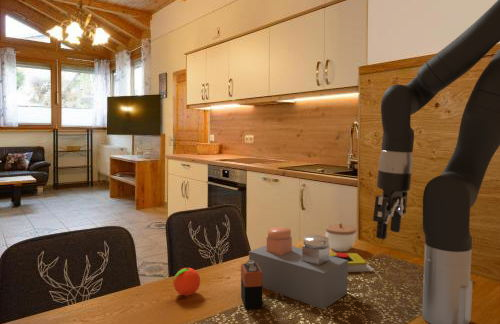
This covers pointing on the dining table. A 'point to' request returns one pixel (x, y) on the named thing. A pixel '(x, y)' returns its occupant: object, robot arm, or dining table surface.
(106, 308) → the dining table surface
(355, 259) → the emergency button
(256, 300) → the battery
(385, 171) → the robot arm
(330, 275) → the console
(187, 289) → the clementine
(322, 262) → the silver jar
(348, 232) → the lidded jar
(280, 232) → the orange canister
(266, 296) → the dining table surface
